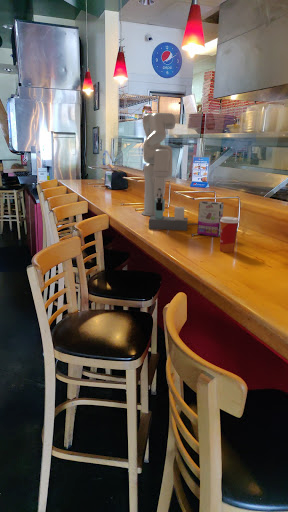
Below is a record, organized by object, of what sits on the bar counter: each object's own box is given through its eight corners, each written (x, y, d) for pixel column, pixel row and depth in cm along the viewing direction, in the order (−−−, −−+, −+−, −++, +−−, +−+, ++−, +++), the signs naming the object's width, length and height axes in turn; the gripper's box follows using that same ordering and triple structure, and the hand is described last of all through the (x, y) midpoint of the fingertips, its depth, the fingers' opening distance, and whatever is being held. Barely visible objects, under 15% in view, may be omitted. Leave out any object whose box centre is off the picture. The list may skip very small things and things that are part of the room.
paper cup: (222, 247, 160) (225, 215, 156) (239, 250, 155) (242, 218, 151) (213, 251, 154) (216, 218, 150) (230, 254, 149) (233, 220, 145)
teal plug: (154, 220, 199) (155, 198, 196) (164, 220, 199) (165, 199, 195) (154, 221, 194) (154, 200, 191) (163, 222, 194) (164, 200, 191)
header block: (150, 224, 203) (151, 205, 199) (187, 226, 200) (188, 206, 197) (148, 228, 193) (149, 207, 190) (187, 230, 191) (188, 209, 188)
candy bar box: (221, 235, 183) (224, 202, 178) (218, 237, 178) (221, 203, 174) (200, 232, 188) (202, 200, 183) (196, 234, 183) (198, 201, 179)
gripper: (155, 173, 198) (154, 206, 203) (152, 175, 182) (150, 212, 187) (169, 173, 197) (167, 207, 202) (167, 176, 181) (165, 212, 186)
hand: (159, 209), depth 195 cm, fingers closed on teal plug, 5 cm apart
